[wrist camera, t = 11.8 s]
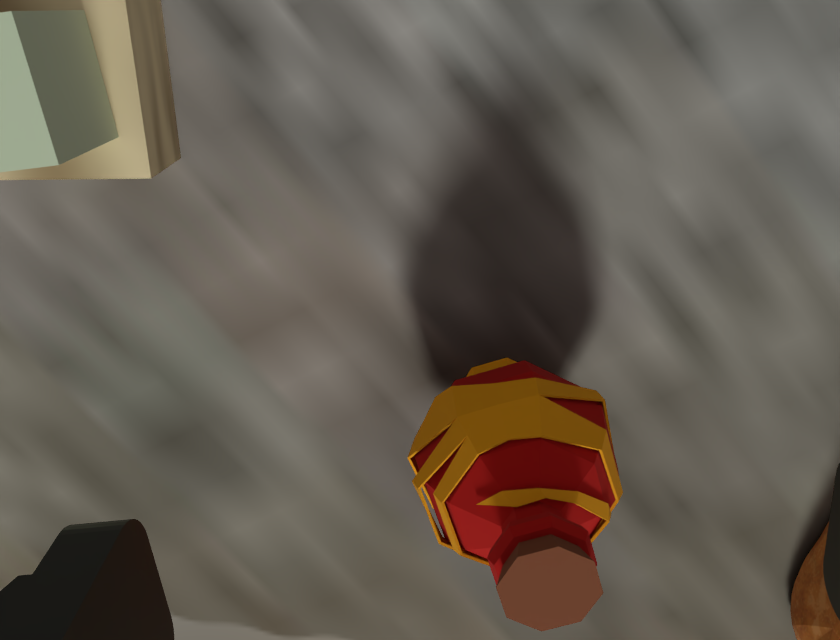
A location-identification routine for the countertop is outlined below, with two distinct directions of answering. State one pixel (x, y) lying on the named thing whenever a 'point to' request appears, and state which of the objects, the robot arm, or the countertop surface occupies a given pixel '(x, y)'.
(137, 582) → the robot arm
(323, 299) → the countertop surface
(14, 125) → the sage block
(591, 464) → the potion bottle
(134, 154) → the oak block
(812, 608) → the bread
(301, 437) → the countertop surface
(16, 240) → the countertop surface
